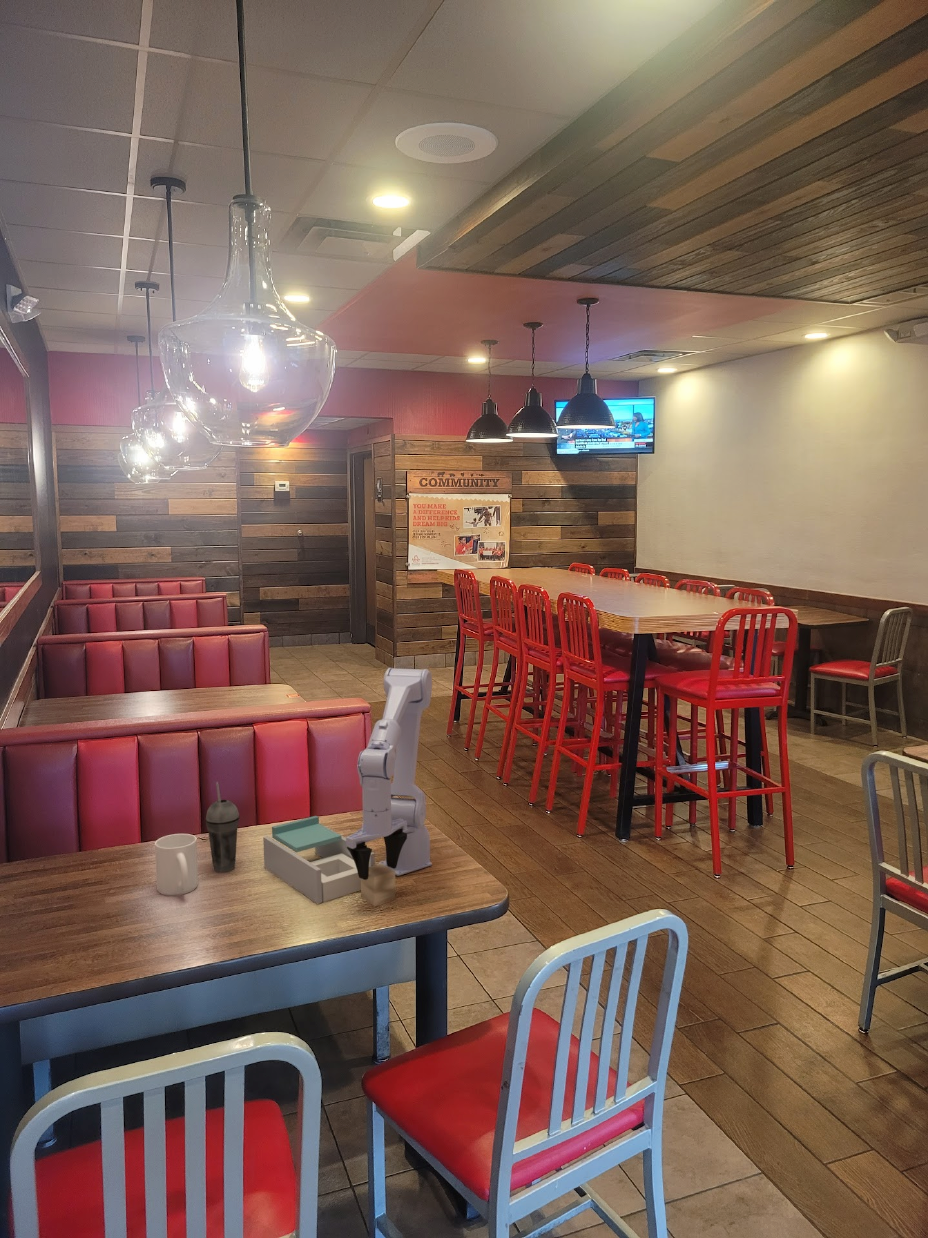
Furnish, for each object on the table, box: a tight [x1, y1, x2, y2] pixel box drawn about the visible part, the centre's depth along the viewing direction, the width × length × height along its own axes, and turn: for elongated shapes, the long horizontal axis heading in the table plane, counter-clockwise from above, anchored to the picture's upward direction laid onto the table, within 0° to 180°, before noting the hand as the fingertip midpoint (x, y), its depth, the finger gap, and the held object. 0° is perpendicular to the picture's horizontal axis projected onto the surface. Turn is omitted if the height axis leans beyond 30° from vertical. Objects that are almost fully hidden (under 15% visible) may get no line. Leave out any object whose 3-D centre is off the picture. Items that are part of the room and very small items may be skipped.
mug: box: [154, 833, 199, 897], centre depth 179 cm, size 12×8×10 cm
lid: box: [271, 815, 343, 853], centre depth 189 cm, size 11×11×2 cm
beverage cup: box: [204, 781, 241, 874], centre depth 189 cm, size 7×7×20 cm
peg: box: [360, 863, 396, 907], centre depth 175 cm, size 5×5×6 cm
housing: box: [263, 825, 376, 905], centre depth 186 cm, size 14×24×7 cm, turn 39°
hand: (377, 872), depth 175 cm, fingers open, 7 cm apart
